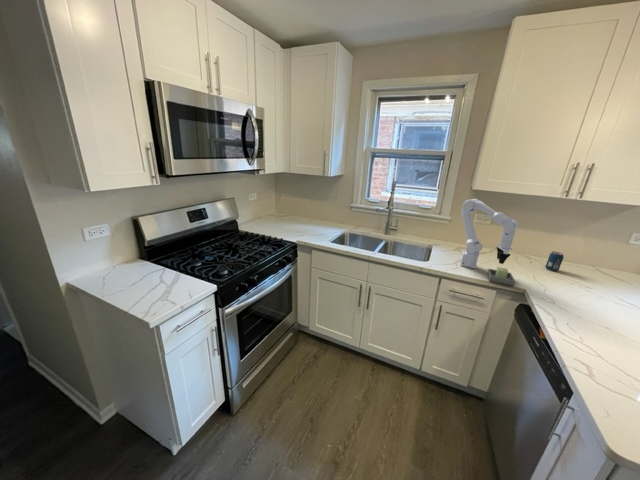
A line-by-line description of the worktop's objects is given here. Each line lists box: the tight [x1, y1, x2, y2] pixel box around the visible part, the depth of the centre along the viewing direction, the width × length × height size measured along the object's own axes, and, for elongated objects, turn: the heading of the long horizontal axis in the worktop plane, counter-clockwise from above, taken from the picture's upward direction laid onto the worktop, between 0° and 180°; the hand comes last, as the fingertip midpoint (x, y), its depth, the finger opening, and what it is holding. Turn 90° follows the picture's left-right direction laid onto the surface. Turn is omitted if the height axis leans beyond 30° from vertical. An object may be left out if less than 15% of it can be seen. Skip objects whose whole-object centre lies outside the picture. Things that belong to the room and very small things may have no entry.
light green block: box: [495, 266, 509, 279], centre depth 156 cm, size 5×5×6 cm
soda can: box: [544, 251, 564, 273], centre depth 174 cm, size 7×7×12 cm
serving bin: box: [486, 268, 516, 288], centre depth 157 cm, size 12×12×4 cm
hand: (500, 261), depth 161 cm, fingers open, 7 cm apart
